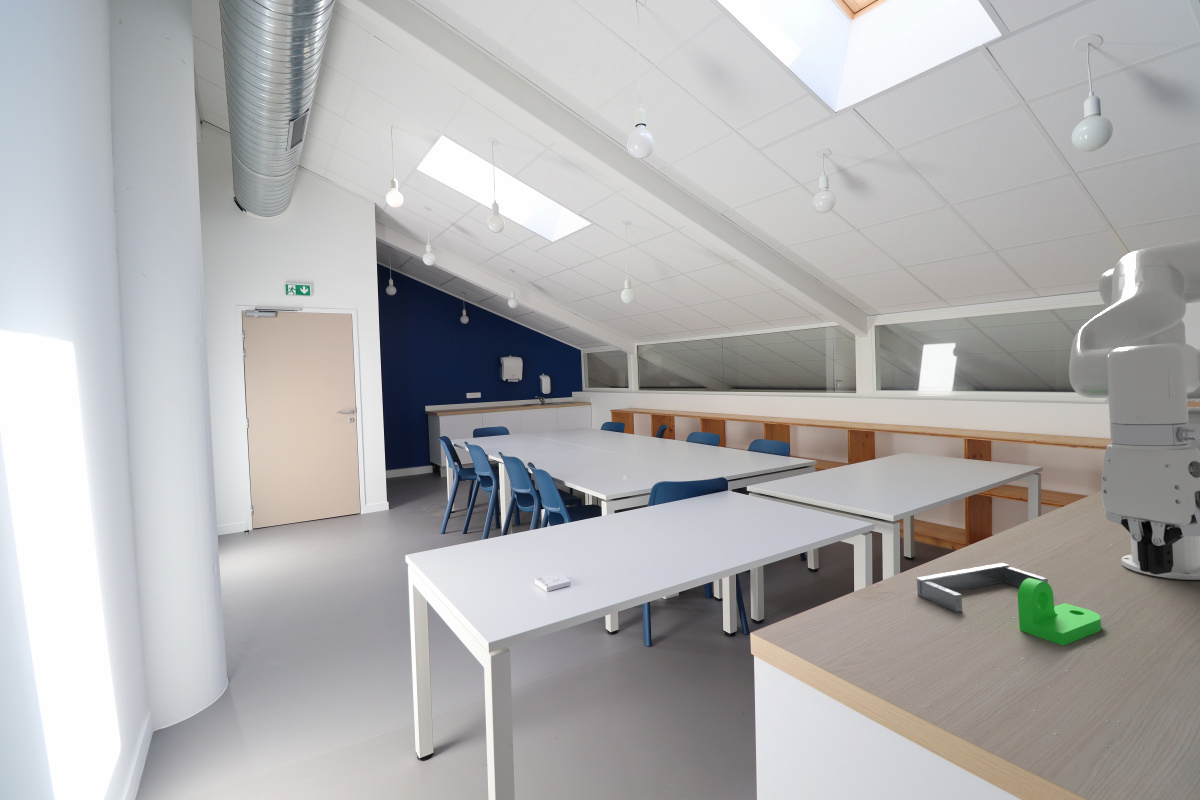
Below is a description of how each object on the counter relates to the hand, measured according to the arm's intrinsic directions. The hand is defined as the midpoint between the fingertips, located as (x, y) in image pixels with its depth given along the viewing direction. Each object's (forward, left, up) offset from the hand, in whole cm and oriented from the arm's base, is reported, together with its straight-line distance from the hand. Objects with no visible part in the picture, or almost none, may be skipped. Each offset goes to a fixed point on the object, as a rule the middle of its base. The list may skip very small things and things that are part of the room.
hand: (1156, 571), depth 74 cm
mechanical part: (0, -13, -14) cm, 18 cm away
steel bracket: (0, -28, -13) cm, 31 cm away
